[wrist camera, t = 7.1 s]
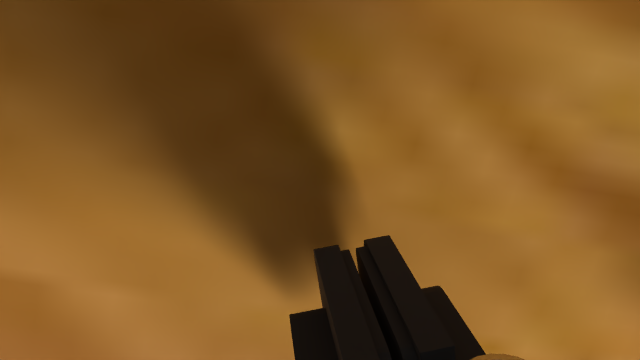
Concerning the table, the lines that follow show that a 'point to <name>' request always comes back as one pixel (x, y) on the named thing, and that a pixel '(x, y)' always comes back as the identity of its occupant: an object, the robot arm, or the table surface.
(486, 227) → the table surface
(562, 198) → the table surface
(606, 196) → the table surface
